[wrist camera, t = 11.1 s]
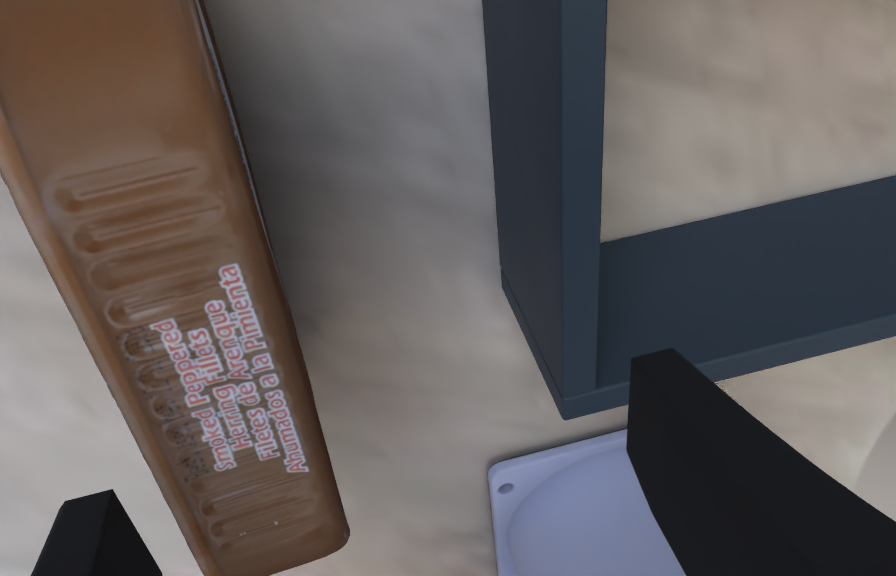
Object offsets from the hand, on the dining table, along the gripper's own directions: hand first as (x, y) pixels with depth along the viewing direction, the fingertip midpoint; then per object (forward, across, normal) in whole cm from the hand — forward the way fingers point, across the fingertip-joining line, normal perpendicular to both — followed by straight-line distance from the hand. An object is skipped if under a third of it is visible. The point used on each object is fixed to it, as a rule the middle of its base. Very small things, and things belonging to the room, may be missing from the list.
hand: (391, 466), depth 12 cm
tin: (+10, +2, -1) cm, 10 cm away
